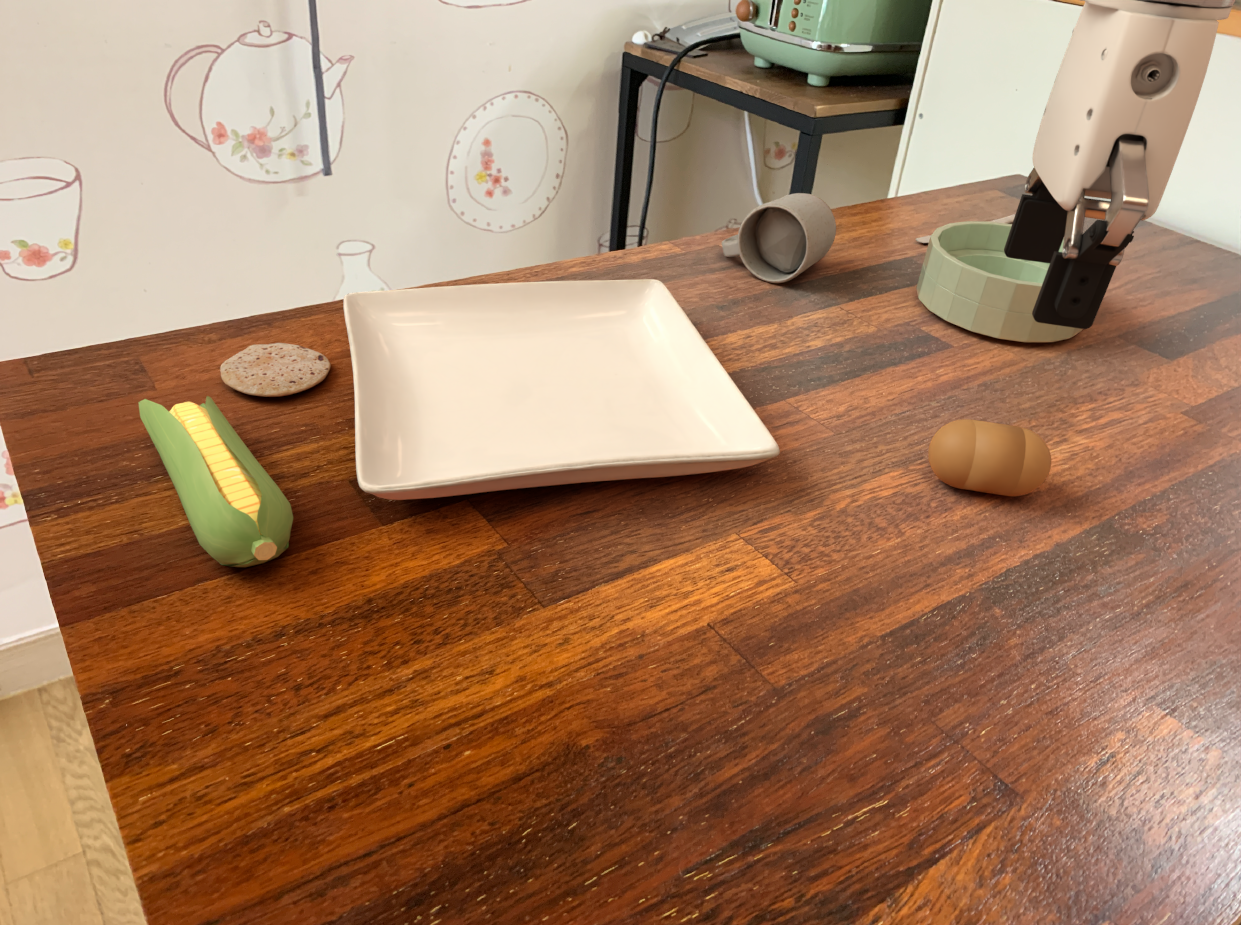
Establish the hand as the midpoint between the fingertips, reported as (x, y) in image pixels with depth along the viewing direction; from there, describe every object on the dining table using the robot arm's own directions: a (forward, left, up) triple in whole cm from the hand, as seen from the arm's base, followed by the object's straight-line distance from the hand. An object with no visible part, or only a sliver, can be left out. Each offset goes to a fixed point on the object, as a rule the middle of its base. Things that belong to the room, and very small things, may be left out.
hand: (1042, 289), depth 57 cm
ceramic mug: (+16, -34, -15) cm, 40 cm away
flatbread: (+52, 0, -15) cm, 54 cm away
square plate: (+32, -2, -15) cm, 35 cm away
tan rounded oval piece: (0, 0, -15) cm, 15 cm away
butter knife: (-10, -55, -15) cm, 58 cm away
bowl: (-6, -31, -15) cm, 35 cm away
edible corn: (+48, +14, -15) cm, 53 cm away
